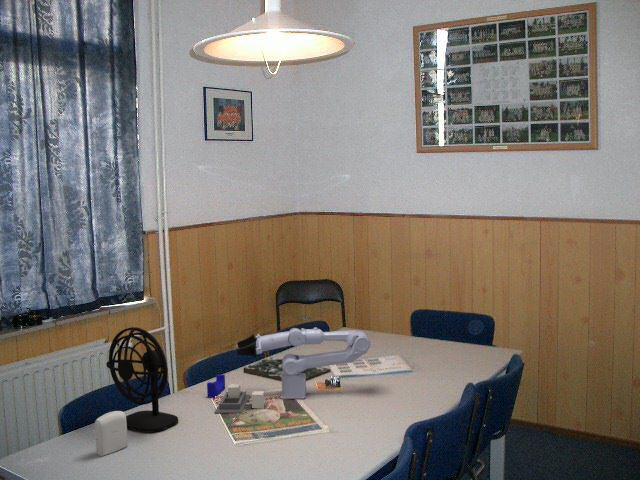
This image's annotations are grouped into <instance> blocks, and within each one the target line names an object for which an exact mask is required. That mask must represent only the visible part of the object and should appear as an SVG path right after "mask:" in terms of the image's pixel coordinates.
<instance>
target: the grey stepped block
mask: <svg viewBox="0 0 640 480" xmlns="http://www.w3.org/2000/svg"><path fill="white" fill-rule="evenodd" d="M250 395H251V394H250V393H247V391H243V390H241V384H239V383H235V384H233V383H231V384H229V385H228V386H227V391H226V392H225V394H224V395H223V397H222V399H221V400H220V402H219V404H218V406H217V407H216V409H215V411H214V415H216V414H217V415H221V414H220V413H242V412H244V411H243V409H244V407H245V408H246V406H247V404H248V402H249V400H250V398H251V396H250ZM249 397H250V398H249ZM248 399H249V400H248ZM247 401H248V402H247ZM246 403H247V404H246ZM245 405H246V406H245ZM244 410H245V409H244ZM242 414H243V413H242Z"/></svg>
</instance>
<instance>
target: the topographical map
mask: <svg viewBox="0 0 640 480" xmlns="http://www.w3.org/2000/svg"><path fill="white" fill-rule="evenodd" d="M282 359H283V358H273V357H270V358H267V359H266V358H265V359H261V361H258V362H257V363H254V364H253V365H250V364H249V365H248V366H244V367H243V373H244V374H247V375H252V376H256V377H260V378H265V379H269V380H274V381H278V382H282V374H281V372H282V371H283V364H282ZM331 371H332V370H331V368H327V367H325V366H322V367H315V368H308V369H306V370H304V371H302V372H300V373H305V374H306V382H307V381H310V380H313V379H316V378H318V377H320V376H323V375H326V374H328V373H331Z"/></svg>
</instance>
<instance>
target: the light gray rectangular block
mask: <svg viewBox="0 0 640 480" xmlns="http://www.w3.org/2000/svg"><path fill="white" fill-rule="evenodd" d="M264 405H266V404H265V391H263V390H262V391H261V390H260V391H259V390H254V391H252V393H251V407H252V408H257V409H256V410H259V409H258V408H262V409H261V410H264V408H265V406H264Z"/></svg>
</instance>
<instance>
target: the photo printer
mask: <svg viewBox="0 0 640 480" xmlns="http://www.w3.org/2000/svg"><path fill="white" fill-rule="evenodd" d="M126 416H127V415H126V414H125V411H122V410H114V411H109V412H107V413H104V414H103V415H101V416H99V417H98V418H97V419H96V420H94V432H95V443H96V444H95V446H96V447H95V448H96V453H97V455H98V457H103V456H107V455H109V454H111V453H114V452H118V451H120V450H123V449H125V448H127V447H128V446H129V442H128V428H127V423H126Z"/></svg>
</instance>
